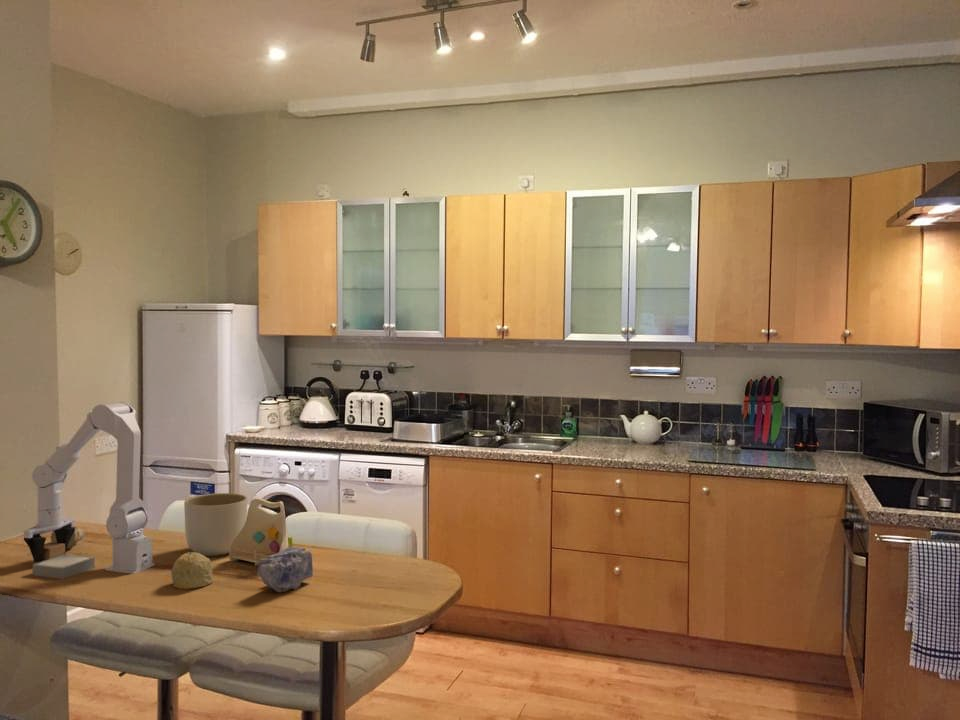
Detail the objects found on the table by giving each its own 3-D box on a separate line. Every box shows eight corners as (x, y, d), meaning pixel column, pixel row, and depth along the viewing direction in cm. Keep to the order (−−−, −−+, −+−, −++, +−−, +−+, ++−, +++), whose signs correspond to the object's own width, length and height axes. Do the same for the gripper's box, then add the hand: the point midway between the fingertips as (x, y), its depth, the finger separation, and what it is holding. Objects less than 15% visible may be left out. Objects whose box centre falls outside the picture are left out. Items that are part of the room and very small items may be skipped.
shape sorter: (308, 565, 204) (308, 500, 203) (279, 575, 195) (279, 508, 194) (257, 553, 214) (257, 492, 213) (228, 563, 205) (228, 498, 204)
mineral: (284, 580, 191) (284, 541, 191) (315, 585, 187) (315, 545, 187) (246, 598, 178) (246, 556, 178) (278, 604, 174) (279, 561, 174)
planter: (210, 564, 203) (210, 508, 203) (171, 553, 213) (171, 500, 212) (259, 549, 218) (259, 497, 217) (221, 540, 227) (221, 490, 226)
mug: (91, 539, 224) (90, 517, 218) (70, 564, 216) (68, 541, 210) (68, 531, 224) (66, 508, 219) (46, 555, 216) (44, 532, 210)
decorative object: (186, 592, 190) (160, 565, 187) (219, 566, 193) (195, 538, 189) (188, 607, 181) (161, 578, 178) (223, 579, 184) (197, 550, 181)
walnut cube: (65, 561, 204) (65, 543, 204) (49, 567, 200) (49, 548, 199) (50, 560, 206) (50, 542, 206) (35, 565, 201) (34, 546, 201)
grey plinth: (94, 568, 198) (94, 557, 198) (63, 580, 189) (63, 568, 189) (64, 565, 201) (64, 554, 201) (32, 576, 192) (32, 564, 192)
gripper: (60, 501, 210) (60, 549, 211) (14, 512, 196) (14, 564, 197) (80, 503, 208) (80, 551, 209) (35, 515, 194) (35, 566, 195)
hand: (50, 558), depth 203 cm, fingers open, 7 cm apart
